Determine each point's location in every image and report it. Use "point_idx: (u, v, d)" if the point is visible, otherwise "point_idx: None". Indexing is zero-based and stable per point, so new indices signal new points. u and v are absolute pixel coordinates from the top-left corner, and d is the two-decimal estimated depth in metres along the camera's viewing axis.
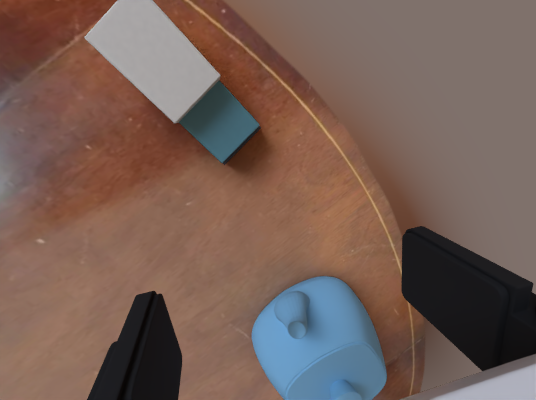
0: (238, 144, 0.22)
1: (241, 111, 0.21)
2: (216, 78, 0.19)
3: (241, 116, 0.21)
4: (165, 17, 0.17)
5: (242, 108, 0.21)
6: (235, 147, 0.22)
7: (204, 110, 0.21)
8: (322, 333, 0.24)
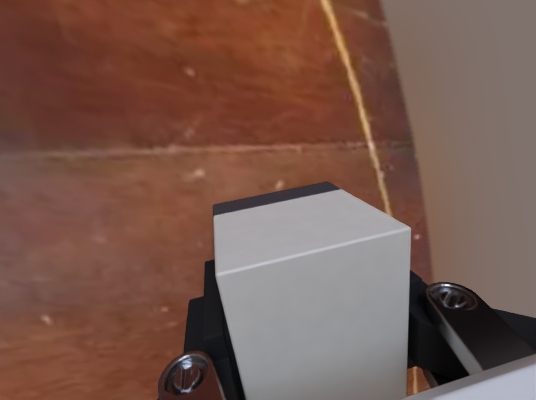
0: None
1: None
2: None
3: None
4: (405, 310, 0.07)
5: None
6: None
7: None
8: None
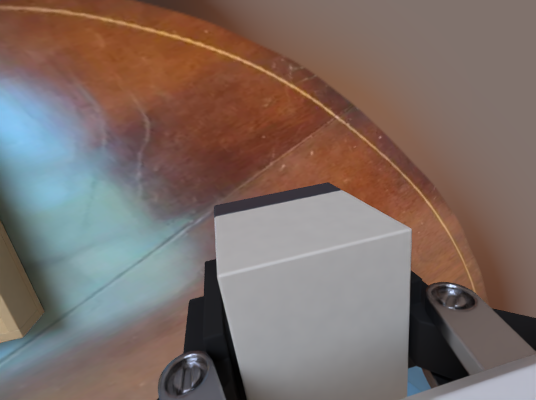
0: None
1: None
2: None
3: None
4: (406, 311, 0.07)
5: None
6: None
7: None
8: None
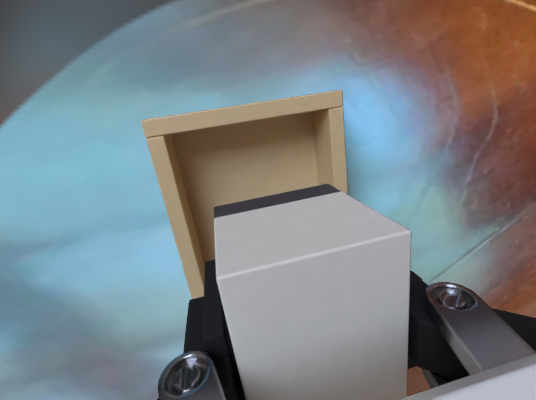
0: None
1: None
2: None
3: None
4: (405, 313, 0.07)
5: None
6: None
7: None
8: None
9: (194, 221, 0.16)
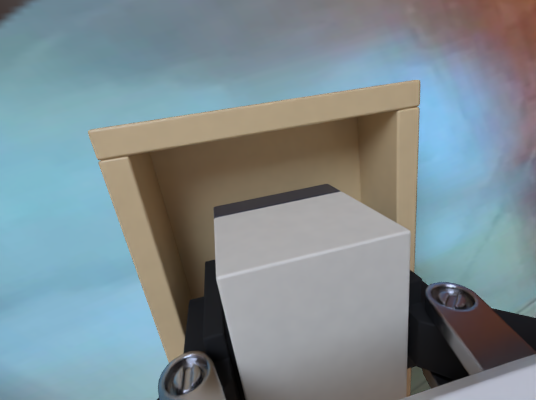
0: None
1: None
2: None
3: None
4: (405, 313, 0.07)
5: None
6: None
7: None
8: None
9: (185, 274, 0.11)
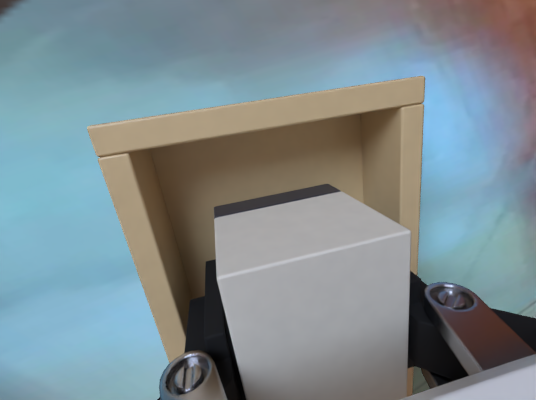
0: None
1: None
2: None
3: None
4: (405, 313, 0.07)
5: None
6: None
7: None
8: None
9: (186, 272, 0.11)
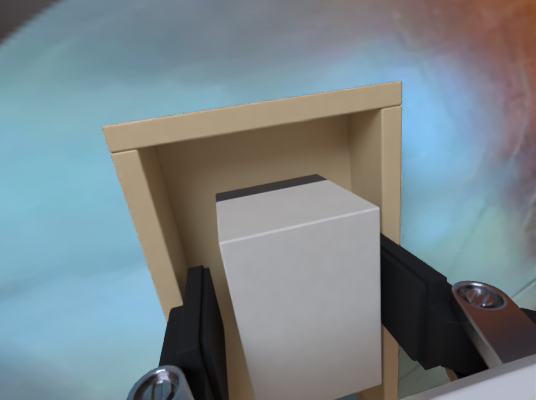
0: None
1: (350, 394, 0.12)
2: (373, 386, 0.10)
3: (345, 399, 0.12)
4: (377, 278, 0.08)
5: None
6: None
7: None
8: None
9: (187, 261, 0.12)
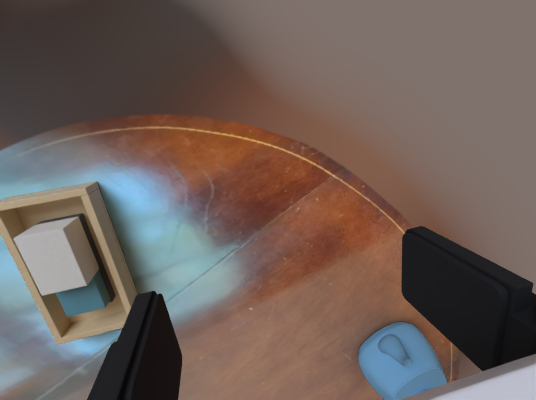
0: (84, 311, 0.33)
1: (97, 296, 0.32)
2: (83, 285, 0.30)
3: (96, 299, 0.32)
4: (70, 249, 0.28)
5: (99, 295, 0.32)
6: (81, 312, 0.33)
7: None
8: (412, 362, 0.41)
9: None
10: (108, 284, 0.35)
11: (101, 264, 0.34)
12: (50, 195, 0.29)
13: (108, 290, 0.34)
